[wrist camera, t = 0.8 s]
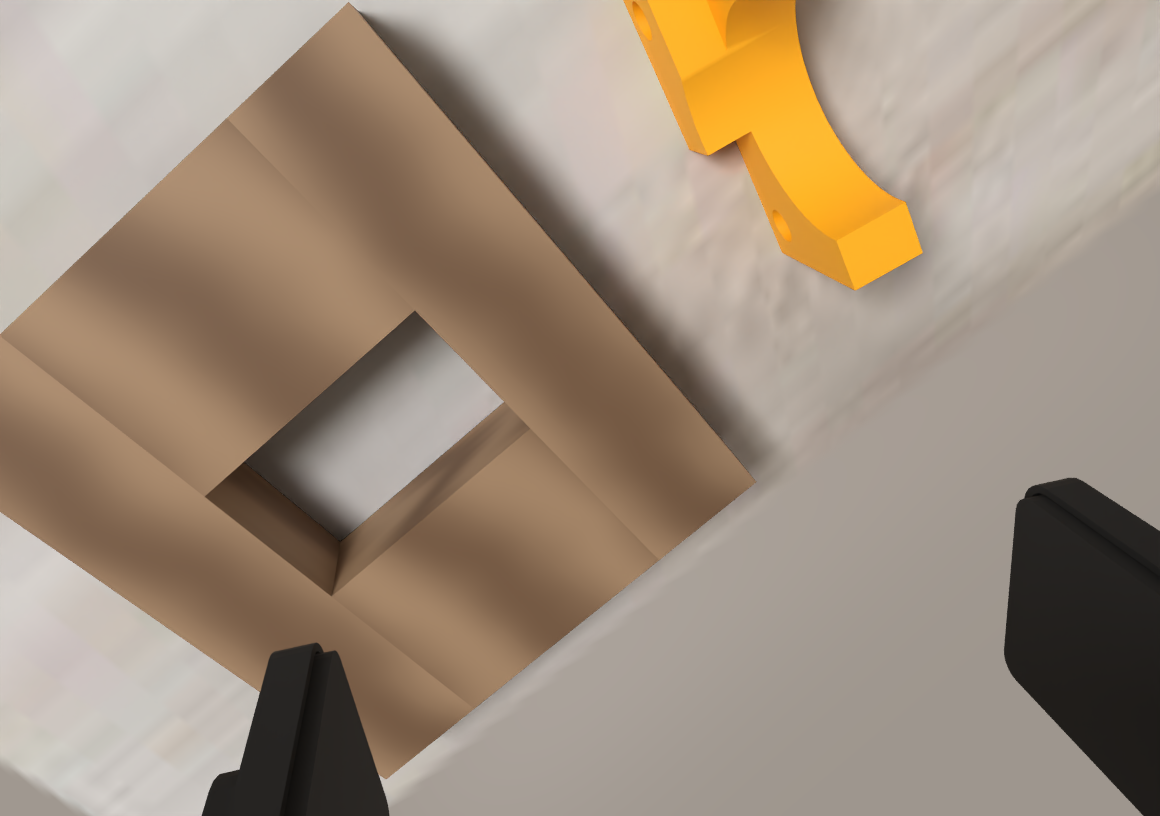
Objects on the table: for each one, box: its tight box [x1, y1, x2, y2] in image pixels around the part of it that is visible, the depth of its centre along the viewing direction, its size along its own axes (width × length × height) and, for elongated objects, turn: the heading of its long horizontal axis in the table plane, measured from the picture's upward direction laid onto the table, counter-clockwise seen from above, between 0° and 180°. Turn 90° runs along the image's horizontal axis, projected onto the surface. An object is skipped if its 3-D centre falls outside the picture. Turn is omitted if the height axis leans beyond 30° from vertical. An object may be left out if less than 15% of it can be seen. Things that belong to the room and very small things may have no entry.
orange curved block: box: [623, 0, 923, 290], centre depth 29 cm, size 12×4×6 cm, turn 28°
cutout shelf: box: [0, 2, 756, 779], centre depth 32 cm, size 20×22×4 cm
